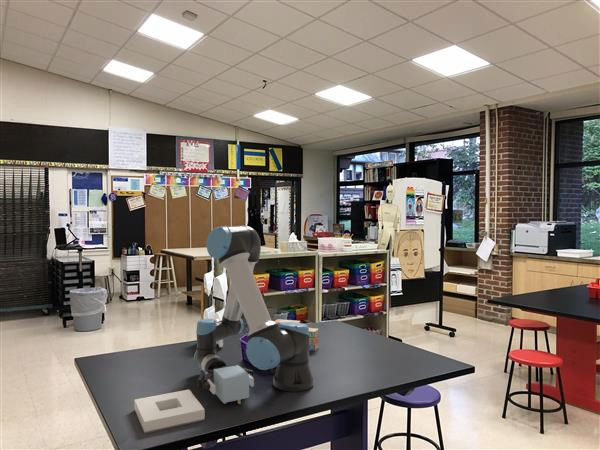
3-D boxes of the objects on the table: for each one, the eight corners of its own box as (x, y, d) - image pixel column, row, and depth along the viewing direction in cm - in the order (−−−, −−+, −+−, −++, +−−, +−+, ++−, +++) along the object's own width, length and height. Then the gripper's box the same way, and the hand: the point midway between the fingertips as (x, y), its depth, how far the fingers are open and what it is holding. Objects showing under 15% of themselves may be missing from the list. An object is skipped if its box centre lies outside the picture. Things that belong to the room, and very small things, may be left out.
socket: (204, 420, 143) (204, 409, 143) (144, 433, 135) (144, 421, 135) (189, 399, 159) (189, 389, 159) (134, 410, 150) (134, 399, 150)
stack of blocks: (318, 347, 219) (318, 322, 219) (315, 351, 214) (315, 325, 213) (277, 343, 226) (277, 318, 226) (272, 347, 220) (272, 321, 220)
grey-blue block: (249, 404, 155) (249, 374, 154) (223, 410, 150) (223, 378, 150) (238, 394, 164) (238, 365, 163) (213, 399, 159) (213, 369, 159)
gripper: (245, 371, 179) (268, 390, 160) (180, 382, 167) (197, 404, 148) (245, 352, 179) (268, 369, 160) (180, 362, 167) (197, 381, 148)
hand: (234, 386), depth 154 cm, fingers open, 13 cm apart
